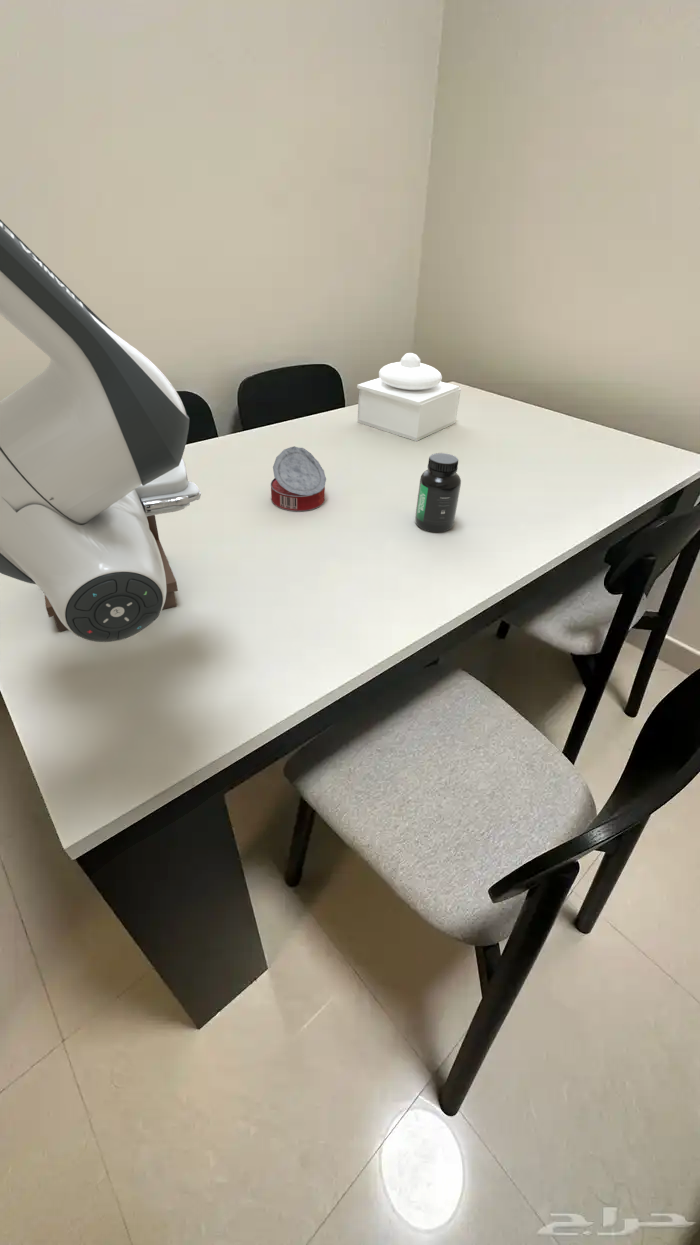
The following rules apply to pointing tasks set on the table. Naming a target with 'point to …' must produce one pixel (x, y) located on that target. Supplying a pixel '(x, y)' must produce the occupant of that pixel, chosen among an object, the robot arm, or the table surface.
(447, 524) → the supplement bottle
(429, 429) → the white lidded box
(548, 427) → the table surface
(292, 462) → the canned food
